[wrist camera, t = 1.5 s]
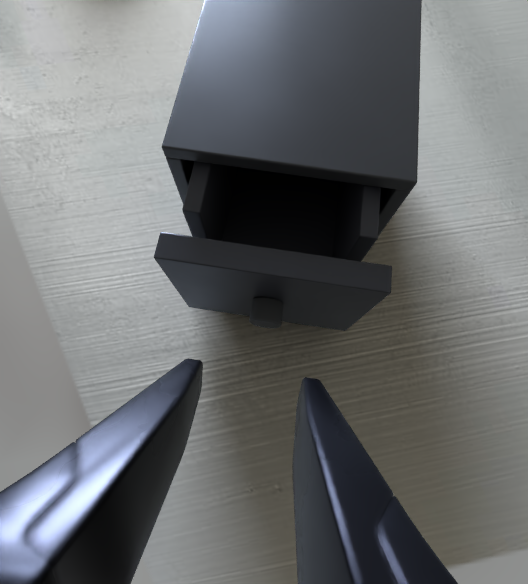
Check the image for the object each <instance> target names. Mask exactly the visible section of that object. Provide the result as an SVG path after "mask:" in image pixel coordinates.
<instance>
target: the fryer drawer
mask: <svg viewBox="0 0 528 584" xmlns="http://www.w3.org/2000/svg"><path fill="white" fill-rule="evenodd" d="M380 193H381V187H376V186H369V185H362V184H355V183H347V182H340V181H333V180H326V179H319V178H312V177H305V176H298V175H291V174H284V173H276V172H269V171H262V170H255V169H248V168H241V167H234V166H227V165H220V164H213V163H205V162H198V161H195V162H194V166H193V170H192V174H191V178H190V181H189V185H188V189H187V193H186V197H185V201H184V205H183V209H182V210H183V213H184V216H185V218H186V221H187V223H188V226H189V228H190V231H191V234H192V236H193V237H191V236H185V235H178V234H171V233H164V232H161V233H160V236H159V240H158V244H157V247H156V251H155V255H154V258H155V260H156V261H157V263H158V264H159V265H160V267H161V268H162V270H163V271H164V272H165V274H166V275H167V277H168V278H169V279H170V281H171V282H172V284H173V285H174V286H175V288H176V289H177V291H178V292H179V293H180V295H181V296H182V298H183V299H184V300H185V302H186V303H187V305H188V306H189V307H193V308H200V309H206V310H213V311H220V312H226V313H233V314H239V315H246V316H250V318H249V322H250V323H251V324H253V325H256V326H260V327H265V328H278V327H280V326H281V321H285V322H291V323H298V324H304V325H311V326H317V327H324V328H330V329H337V330H343V331H345V330H347V329H348V328H349V327H350V326H351V325H353V324H354V323H355V322H356V321H357V320H359V319H360V318H361V317H362V316H364V315H365V314H366V313H367V312H368V311H370V310H371V309H372V308H373V307H374V306H376V305H377V304H378V303H379V302H380V301H382V300H383V299H384V298H385V297H386V296H388V295H389V294H390V293H391V277H392V266H388V265H381V264H374V263H368V262H361V261H362V259H363V258H364V256H365V255H366V254H367V252H368V251H369V250H370V248H371V247H372V245H373V244H374V243H375V241H376V240H377V238H378V226H379V209H380Z"/></svg>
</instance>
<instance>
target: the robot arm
mask: <svg viewBox="0 0 528 584" xmlns="http://www.w3.org/2000/svg"><path fill="white" fill-rule="evenodd" d="M202 370H203V363H202V361H200V360H194V359H185V360H184V361H182V362H181V363H180V364H178V365H177V366H176V367H174V368H173V369H172V370H170V371H169V372H168V373H166V374H165V375H163V376H162V377H161V378H159V379H158V380H157V381H155V382H154V383H153V384H151V385H150V386H149V387H147V388H146V389H144V390H143V391H142V392H140V393H139V394H138V395H136V396H135V397H134V398H132V399H131V400H130V401H128V402H127V403H126V404H124V405H123V406H121V407H120V408H119V409H117V410H116V411H115V412H113V413H112V414H111V415H109V416H108V417H107V418H105V419H104V420H102V421H101V422H100V423H98V424H97V425H96V426H94V427H93V428H92V429H90V430H89V431H88V432H86V433H85V434H83V435H82V436H81V437H80V438H78V439H77V440H76V443H74V442H73V443H71V444H70V445H68V446H67V447H66V448H64V449H63V450H62V451H60V452H59V453H58V454H56V455H55V456H53V457H52V458H50V459H49V460H48V461H46V462H45V463H43V464H42V465H41V466H39V467H38V468H36V469H35V470H33V471H32V472H31V473H29V474H27V475H26V476H24V477H23V478H21V479H20V480H18V481H17V482H15V483H14V484H12V485H10V486H9V487H7V488H6V489H4V490H3V491H1V492H0V584H131V581H132V579H133V576H134V574H135V571H136V569H137V566H138V564H139V562H140V559H141V557H142V554H143V552H144V549H145V547H146V544H147V542H148V539H149V537H150V534H151V532H152V530H153V527H154V525H155V522H156V520H157V517H158V515H159V512H160V510H161V507H162V505H163V502H164V500H165V498H166V495H167V493H168V490H169V488H170V485H171V483H172V480H173V478H174V475H175V473H176V470H177V468H178V466H179V463H180V461H181V458H182V455H183V453H184V450H185V447H186V444H187V440H188V437H189V433H190V429H191V426H192V422H193V419H194V415H195V411H196V408H197V404H198V400H199V397H200V393H201V387H202ZM293 491H294V512H295V533H296V554H297V575H298V584H458V583H457V582H456V580H455V579H454V578H453V577H452V575H451V574H450V573H449V572H448V570H447V569H446V568H445V566H444V565H443V564H442V562H441V561H440V560H439V558H438V557H437V556H436V554H435V553H434V552H433V550H432V549H431V547H430V546H429V545H428V543H427V542H426V541H425V539H424V538H423V537H422V535H421V534H420V532H419V531H418V529H417V528H416V526H415V525H414V523H413V522H412V521H411V519H410V518H409V516H408V515H407V513H406V512H405V510H404V509H403V507H402V506H401V504H400V502H399V501H398V499H397V498H396V497H395V496H393V492H392V490H391V489H390V487H389V486H388V484H387V483H386V481H385V480H384V478H383V477H382V475H381V473H380V472H379V470H378V469H377V467H376V466H375V464H374V463H373V461H372V460H371V458H370V457H369V455H368V453H367V452H366V450H365V449H364V447H363V446H362V444H361V443H360V441H359V440H358V438H357V437H356V435H355V433H354V432H353V430H352V429H351V427H350V426H349V424H348V423H347V421H346V420H345V418H344V417H343V415H342V413H341V412H340V410H339V409H338V407H337V406H336V404H335V403H334V401H333V400H332V398H331V397H330V395H329V393H328V392H327V390H326V389H325V387H324V386H323V384H322V383H321V381H320V380H318V379H313V378H307V377H305V378H304V379H303V380H302V384H301V388H300V393H299V397H298V402H297V409H296V423H295V437H294V451H293ZM392 496H393V497H392Z"/></svg>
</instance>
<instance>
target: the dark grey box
mask: <svg viewBox="0 0 528 584" xmlns="http://www.w3.org/2000/svg"><path fill="white" fill-rule="evenodd" d="M420 41H421V0H205V1H204V4H203V8H202V11H201V14H200V18H199V21H198V25H197V28H196V32H195V35H194V38H193V42H192V45H191V49H190V52H189V55H188V59H187V62H186V66H185V69H184V73H183V76H182V79H181V83H180V86H179V90H178V93H177V97H176V100H175V103H174V107H173V110H172V114H171V117H170V120H169V124H168V127H167V131H166V134H165V138H164V141H163V144H162V148H163V151H164V154H165V156H166V159H167V162H168V165H169V167H170V170H171V173H172V175H173V178H174V181H175V183H176V186H177V189H178V191H179V194H180V197H181V199H182V202H183V205H184V201H185V197H186V193H187V189H188V185H189V181H190V178H191V174H192V170H193V166H194V162H195V161H198V162H205V163H213V164H220V165H227V166H234V167H241V168H248V169H255V170H262V171H269V172H276V173H284V174H291V175H298V176H305V177H312V178H319V179H326V180H333V181H340V182H347V183H355V184H362V185H369V186H376V187H381V193H380V209H379V226H378V236H379V235H380V233H381V232H382V230H383V229H384V228H385V226H386V225H387V223H388V222H389V221H390V219H391V218H392V216H393V215H394V214H395V212H396V211H397V210H398V208H399V207H400V205H401V204H402V203H403V201H404V200H405V198H406V197H407V196H408V194H409V193H410V191H411V190H412V189H413V187H414V186H415V185H416V183H417V165H418V123H419V82H420Z"/></svg>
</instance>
